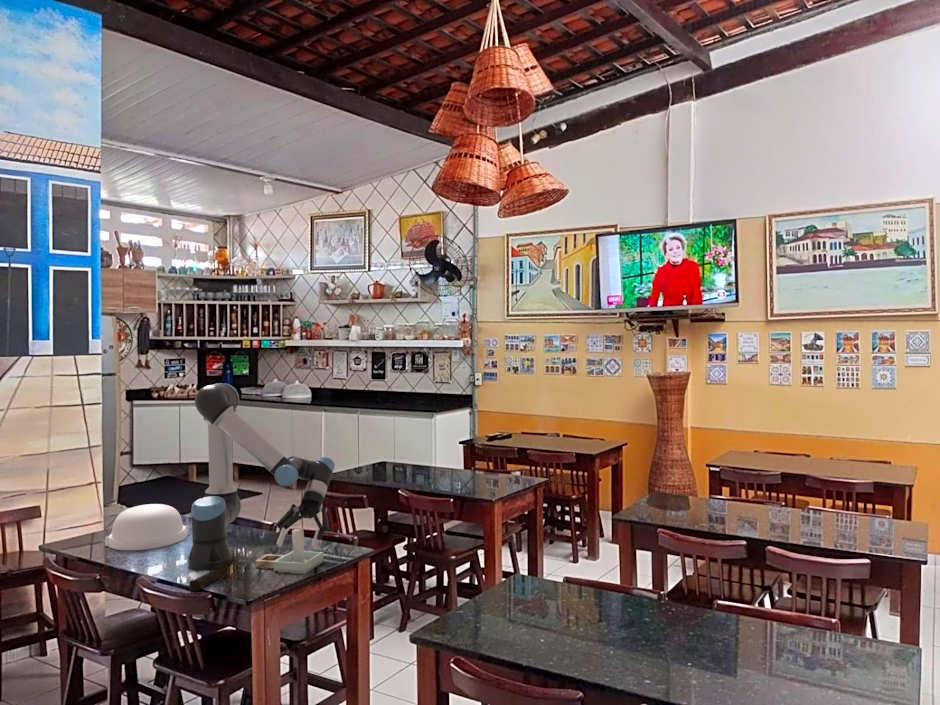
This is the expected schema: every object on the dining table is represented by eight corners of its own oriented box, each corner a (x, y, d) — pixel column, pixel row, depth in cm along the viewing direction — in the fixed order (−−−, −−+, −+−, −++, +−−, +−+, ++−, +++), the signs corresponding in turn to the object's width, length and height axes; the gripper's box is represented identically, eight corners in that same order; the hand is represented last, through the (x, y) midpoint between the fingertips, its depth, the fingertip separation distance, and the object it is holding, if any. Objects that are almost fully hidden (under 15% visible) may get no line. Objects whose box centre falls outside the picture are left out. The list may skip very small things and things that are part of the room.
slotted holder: (255, 567, 265) (255, 560, 265) (267, 561, 273) (267, 554, 273) (275, 569, 263) (275, 561, 263) (286, 562, 271) (286, 555, 270)
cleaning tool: (291, 565, 264) (289, 531, 263) (296, 561, 267) (295, 528, 267) (301, 565, 263) (300, 532, 262) (306, 562, 266) (305, 528, 266)
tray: (273, 571, 260) (273, 561, 260) (293, 559, 273) (293, 550, 273) (305, 573, 257) (304, 563, 256) (323, 561, 270) (323, 552, 270)
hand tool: (199, 592, 241) (199, 578, 240) (188, 591, 242) (188, 577, 242) (233, 574, 259) (233, 561, 259) (224, 573, 260) (223, 560, 260)
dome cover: (184, 526, 327) (182, 495, 327) (195, 542, 301) (194, 508, 301) (103, 538, 312) (101, 504, 312) (107, 555, 286) (105, 519, 285)
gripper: (348, 501, 276) (331, 553, 262) (287, 499, 283) (268, 550, 269) (341, 490, 271) (324, 542, 257) (280, 488, 278) (260, 539, 263)
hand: (295, 546), depth 263 cm, fingers open, 13 cm apart
